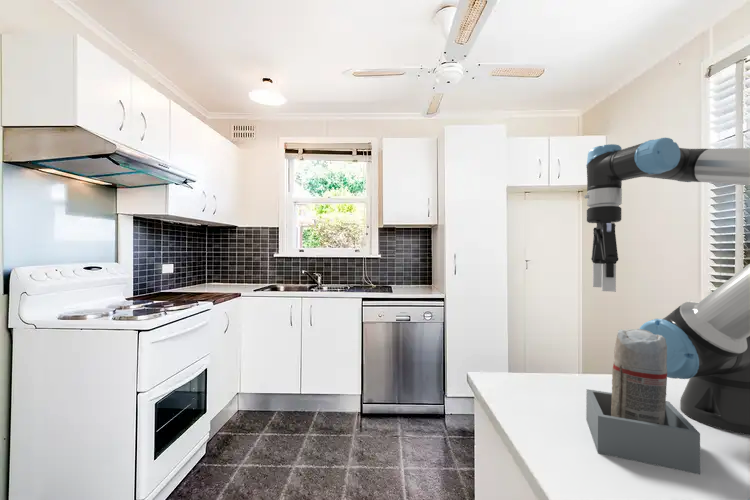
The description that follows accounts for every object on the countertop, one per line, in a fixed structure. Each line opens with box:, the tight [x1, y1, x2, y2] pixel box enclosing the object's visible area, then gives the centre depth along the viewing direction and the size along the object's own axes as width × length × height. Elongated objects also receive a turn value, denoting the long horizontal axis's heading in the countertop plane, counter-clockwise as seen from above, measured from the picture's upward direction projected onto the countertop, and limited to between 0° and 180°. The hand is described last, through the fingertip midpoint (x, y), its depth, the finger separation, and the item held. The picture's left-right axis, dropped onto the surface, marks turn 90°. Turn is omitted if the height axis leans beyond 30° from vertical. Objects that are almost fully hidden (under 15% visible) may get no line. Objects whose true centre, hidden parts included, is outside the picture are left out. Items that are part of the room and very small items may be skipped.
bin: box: [585, 389, 701, 475], centre depth 65 cm, size 14×14×6 cm
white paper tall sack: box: [611, 328, 668, 425], centre depth 65 cm, size 8×8×20 cm
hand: (603, 289), depth 90 cm, fingers open, 13 cm apart
